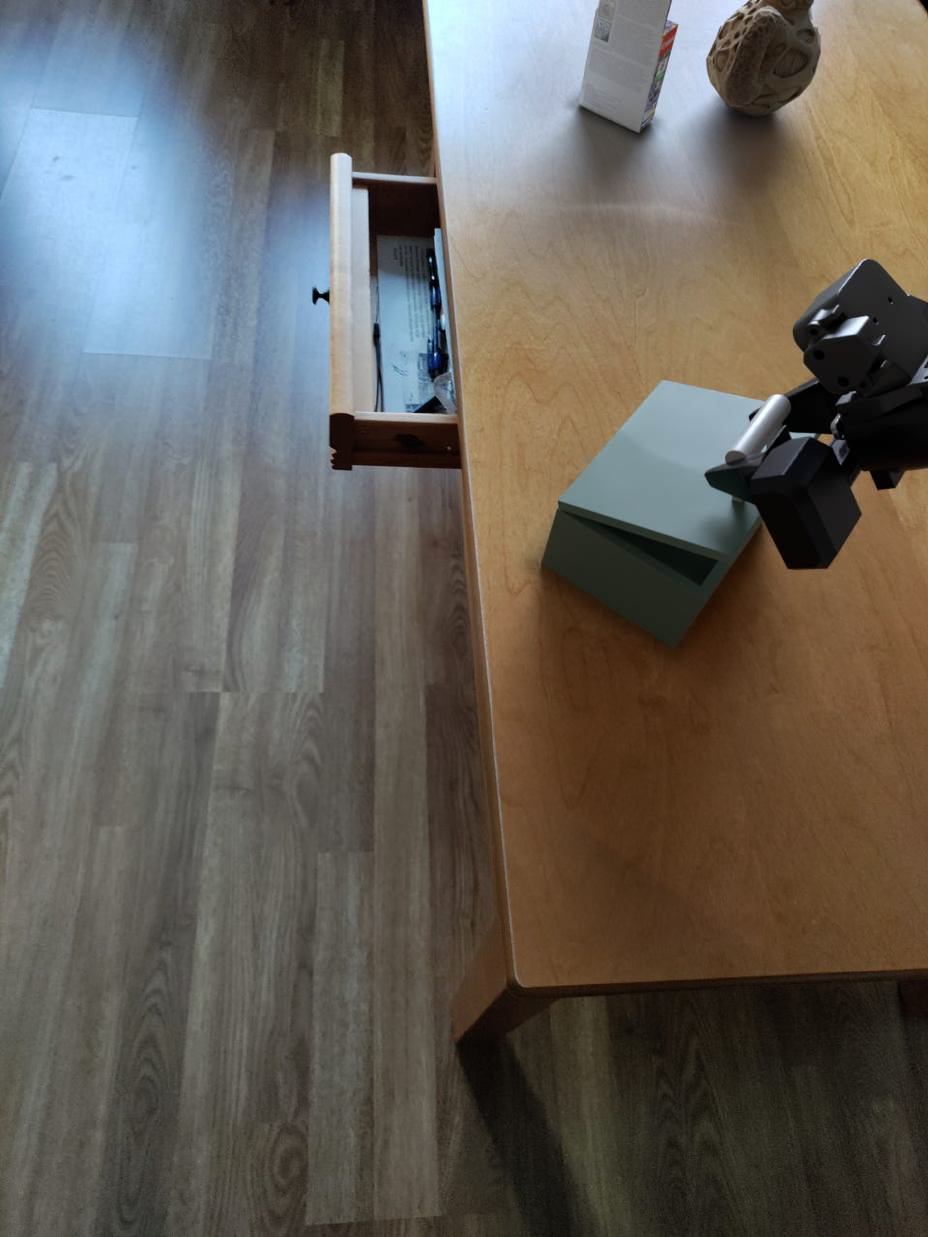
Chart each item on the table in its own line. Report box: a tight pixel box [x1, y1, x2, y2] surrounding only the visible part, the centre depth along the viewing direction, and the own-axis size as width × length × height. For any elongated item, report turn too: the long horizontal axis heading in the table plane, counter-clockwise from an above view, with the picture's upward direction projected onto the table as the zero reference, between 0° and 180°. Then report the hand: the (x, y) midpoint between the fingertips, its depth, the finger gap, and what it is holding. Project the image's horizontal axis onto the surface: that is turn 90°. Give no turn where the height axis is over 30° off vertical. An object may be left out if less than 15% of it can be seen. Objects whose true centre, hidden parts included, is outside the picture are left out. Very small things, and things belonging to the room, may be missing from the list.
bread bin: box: [540, 507, 763, 650], centre depth 63 cm, size 12×15×7 cm
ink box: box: [577, 0, 679, 134], centre depth 88 cm, size 4×8×15 cm, turn 55°
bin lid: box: [557, 379, 822, 564], centre depth 56 cm, size 12×15×5 cm
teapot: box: [705, 0, 822, 118], centre depth 90 cm, size 21×12×15 cm, turn 154°
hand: (730, 448), depth 55 cm, fingers closed on bin lid, 6 cm apart
